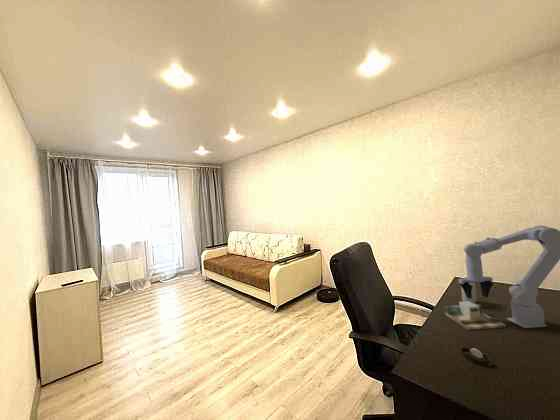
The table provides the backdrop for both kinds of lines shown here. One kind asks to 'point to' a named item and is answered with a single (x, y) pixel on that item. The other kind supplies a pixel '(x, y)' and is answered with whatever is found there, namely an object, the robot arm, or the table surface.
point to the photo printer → (473, 292)
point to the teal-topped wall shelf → (473, 324)
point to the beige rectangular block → (469, 310)
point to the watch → (475, 353)
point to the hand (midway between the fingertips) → (477, 297)
